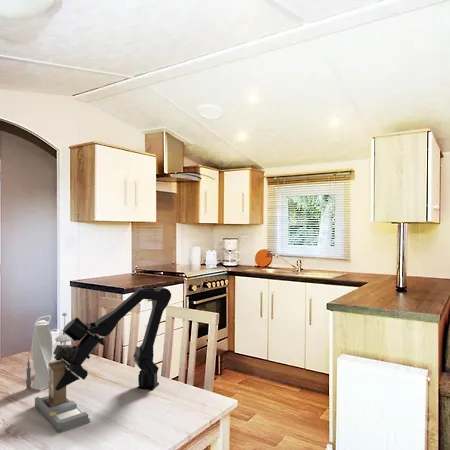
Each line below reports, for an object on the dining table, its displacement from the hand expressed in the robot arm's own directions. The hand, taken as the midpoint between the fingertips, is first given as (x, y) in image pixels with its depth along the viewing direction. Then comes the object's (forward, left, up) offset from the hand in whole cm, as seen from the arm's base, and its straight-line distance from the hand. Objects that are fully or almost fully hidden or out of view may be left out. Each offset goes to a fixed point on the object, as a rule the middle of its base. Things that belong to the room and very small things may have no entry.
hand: (53, 387), depth 137 cm
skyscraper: (+17, -15, -8) cm, 24 cm away
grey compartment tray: (-5, +2, -8) cm, 10 cm away
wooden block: (-1, -1, -7) cm, 7 cm away
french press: (+21, -35, -8) cm, 41 cm away
